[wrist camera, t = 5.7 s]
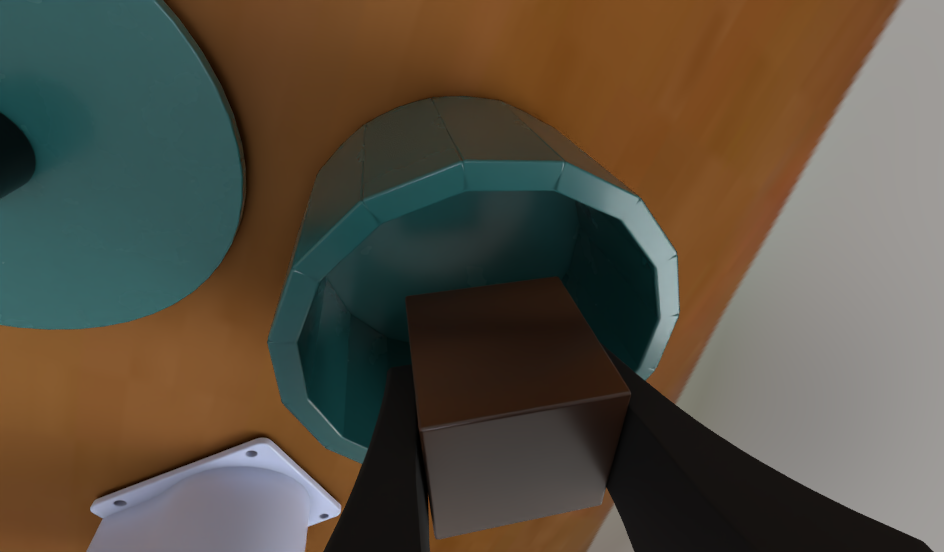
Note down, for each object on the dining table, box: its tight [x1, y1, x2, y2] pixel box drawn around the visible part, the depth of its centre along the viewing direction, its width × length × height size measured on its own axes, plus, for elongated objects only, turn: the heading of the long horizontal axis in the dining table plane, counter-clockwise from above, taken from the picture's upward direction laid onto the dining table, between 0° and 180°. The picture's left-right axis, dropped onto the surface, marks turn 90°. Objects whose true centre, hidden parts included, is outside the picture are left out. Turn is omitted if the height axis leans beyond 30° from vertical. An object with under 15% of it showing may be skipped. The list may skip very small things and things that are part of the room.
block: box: [405, 276, 631, 539], centre depth 11 cm, size 4×4×4 cm
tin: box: [267, 96, 680, 464], centre depth 15 cm, size 11×11×6 cm
